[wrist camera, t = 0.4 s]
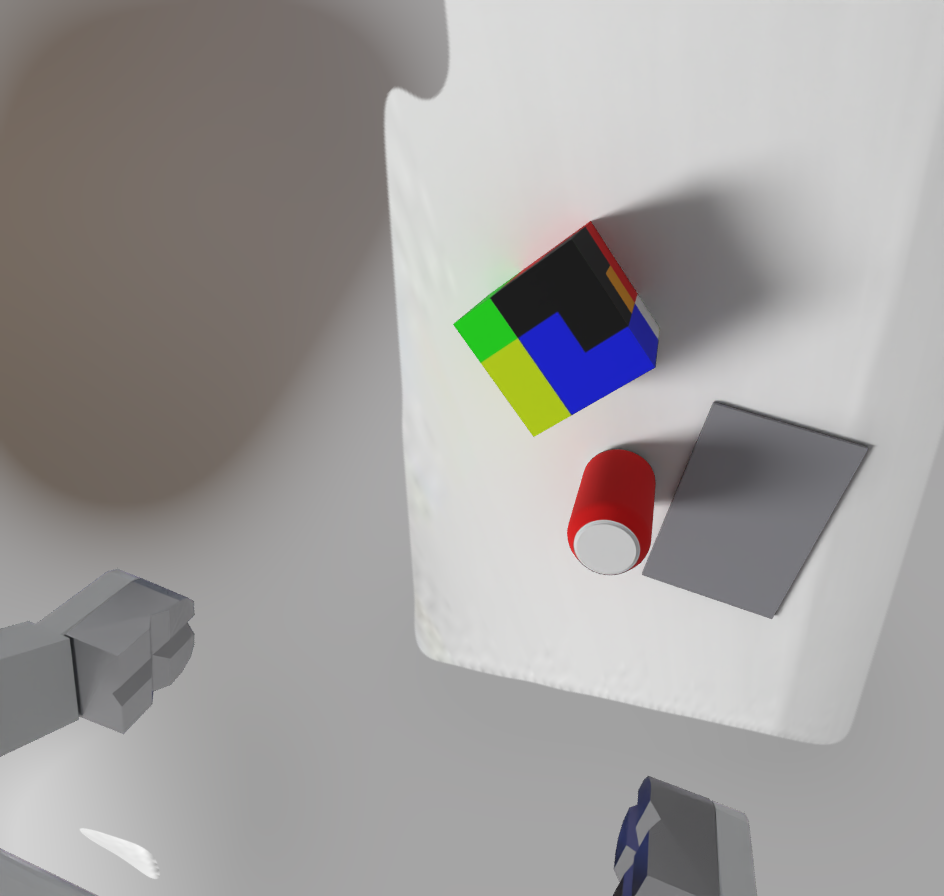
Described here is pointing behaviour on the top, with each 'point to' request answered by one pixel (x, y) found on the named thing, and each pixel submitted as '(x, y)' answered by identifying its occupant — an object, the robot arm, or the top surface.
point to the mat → (750, 508)
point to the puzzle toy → (562, 332)
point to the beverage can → (613, 513)
